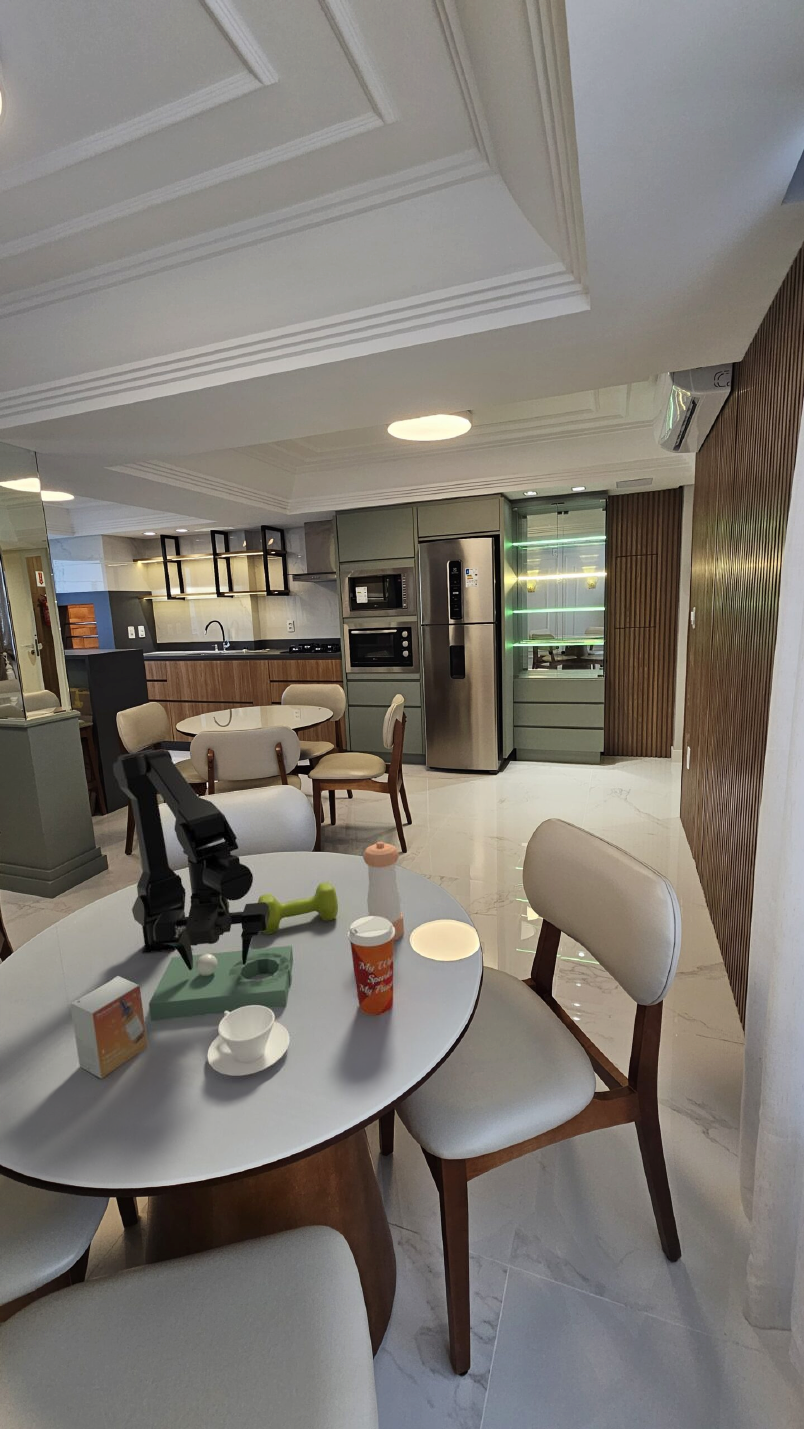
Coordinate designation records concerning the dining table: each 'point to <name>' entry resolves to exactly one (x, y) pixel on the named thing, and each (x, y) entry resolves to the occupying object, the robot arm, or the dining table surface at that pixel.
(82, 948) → the dining table surface
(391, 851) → the salt shaker
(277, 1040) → the teacup
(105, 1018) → the small box
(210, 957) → the ball
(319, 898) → the dumbbell
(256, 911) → the robot arm
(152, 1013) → the green slab with hollow
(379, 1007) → the paper cup
